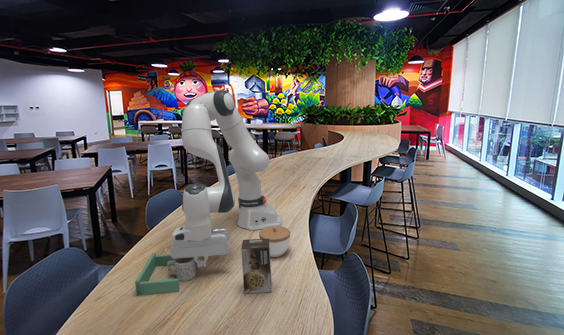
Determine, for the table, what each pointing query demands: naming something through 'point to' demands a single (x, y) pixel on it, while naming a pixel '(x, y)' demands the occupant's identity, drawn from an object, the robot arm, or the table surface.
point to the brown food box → (256, 265)
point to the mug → (183, 268)
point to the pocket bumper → (160, 285)
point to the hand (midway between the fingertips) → (202, 266)
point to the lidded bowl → (276, 239)
